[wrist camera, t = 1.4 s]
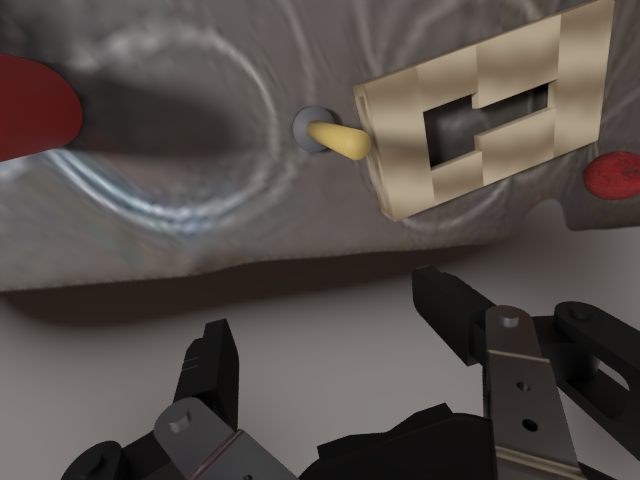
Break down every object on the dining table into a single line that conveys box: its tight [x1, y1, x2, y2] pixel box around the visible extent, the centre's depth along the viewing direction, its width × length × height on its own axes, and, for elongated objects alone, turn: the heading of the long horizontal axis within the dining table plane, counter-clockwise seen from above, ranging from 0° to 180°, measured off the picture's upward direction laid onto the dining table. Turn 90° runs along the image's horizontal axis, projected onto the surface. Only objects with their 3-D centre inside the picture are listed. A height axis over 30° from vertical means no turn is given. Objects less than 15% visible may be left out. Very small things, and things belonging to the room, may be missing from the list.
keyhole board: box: [353, 0, 615, 222], centre depth 33 cm, size 14×26×3 cm, turn 108°
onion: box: [584, 152, 640, 200], centre depth 38 cm, size 6×6×8 cm
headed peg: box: [292, 106, 371, 160], centre depth 25 cm, size 4×4×13 cm
